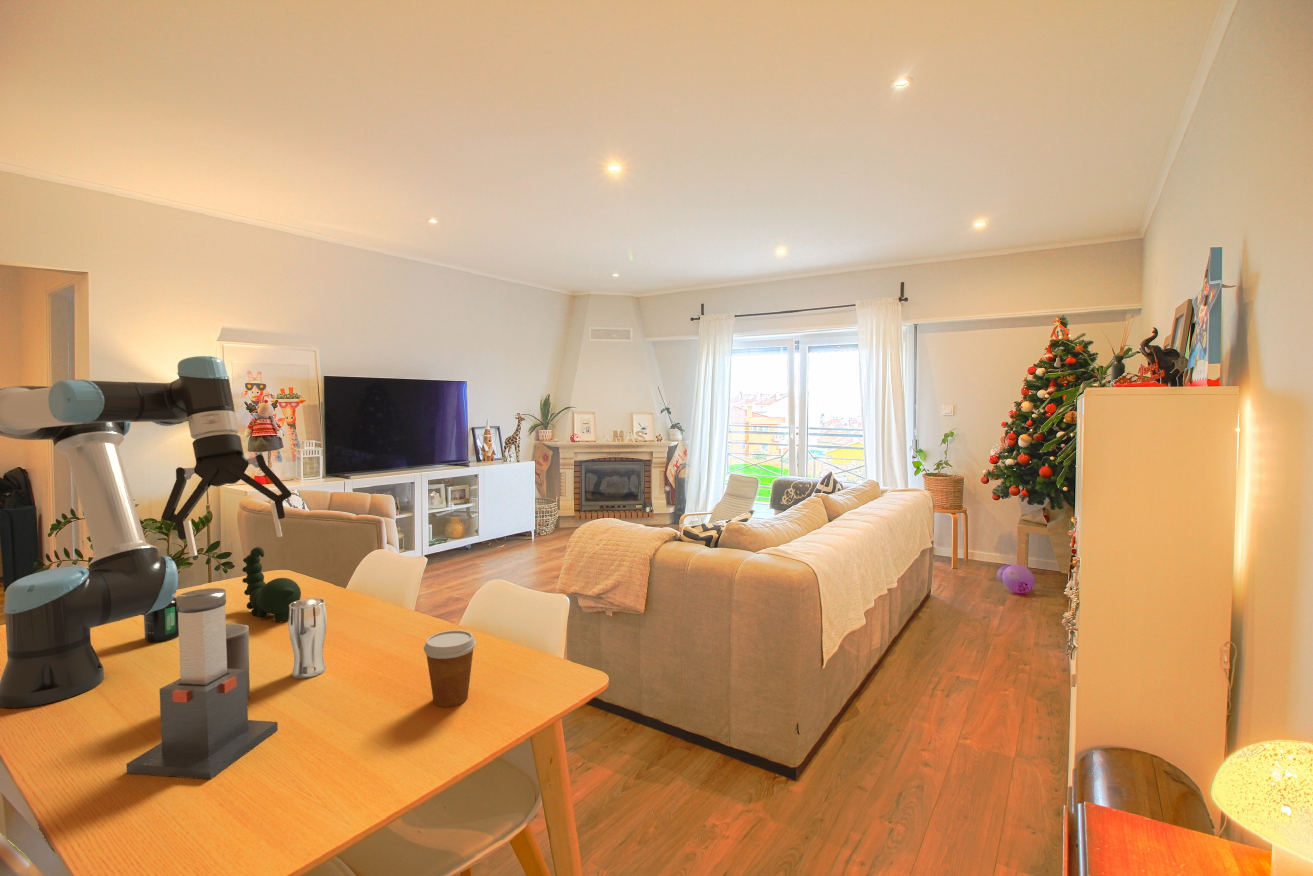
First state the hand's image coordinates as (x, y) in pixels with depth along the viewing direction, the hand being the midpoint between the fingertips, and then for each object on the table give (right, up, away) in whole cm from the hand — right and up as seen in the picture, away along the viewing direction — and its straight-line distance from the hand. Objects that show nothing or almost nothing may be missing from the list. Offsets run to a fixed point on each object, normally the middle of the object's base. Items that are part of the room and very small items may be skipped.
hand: (238, 546), depth 114 cm
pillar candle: (-4, -30, +1) cm, 30 cm away
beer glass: (+5, -30, +14) cm, 33 cm away
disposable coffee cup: (+39, -30, +2) cm, 50 cm away
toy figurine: (-24, -28, +48) cm, 61 cm away
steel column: (+5, -29, -15) cm, 33 cm away
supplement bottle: (-41, -28, +33) cm, 60 cm away
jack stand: (+5, -31, -15) cm, 35 cm away
